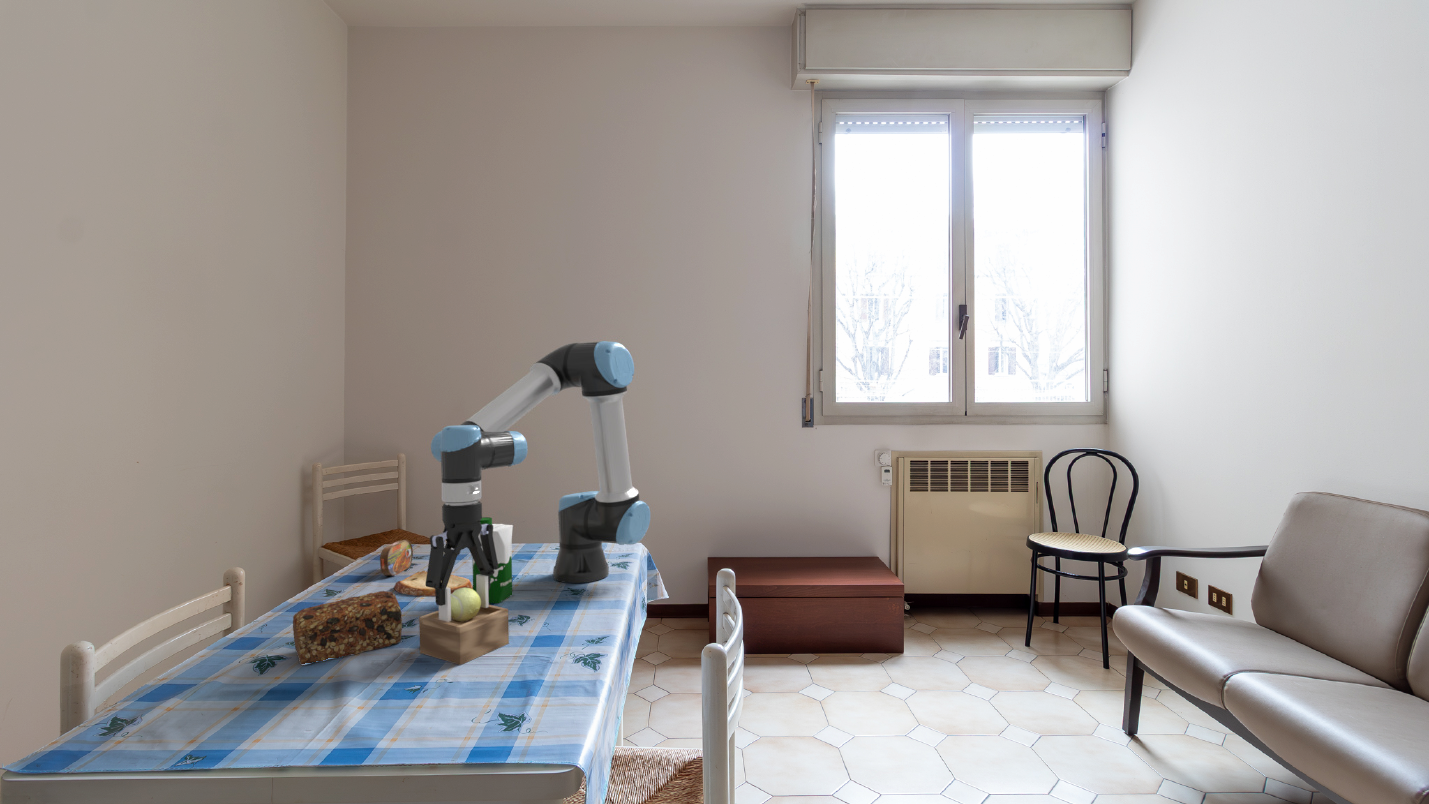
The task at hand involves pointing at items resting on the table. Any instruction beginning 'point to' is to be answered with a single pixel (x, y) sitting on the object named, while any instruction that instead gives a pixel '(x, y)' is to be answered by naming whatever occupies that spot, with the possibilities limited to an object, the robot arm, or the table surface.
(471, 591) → the tennis ball
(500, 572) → the milk carton
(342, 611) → the bread
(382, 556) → the tin
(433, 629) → the wooden box
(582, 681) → the table surface
